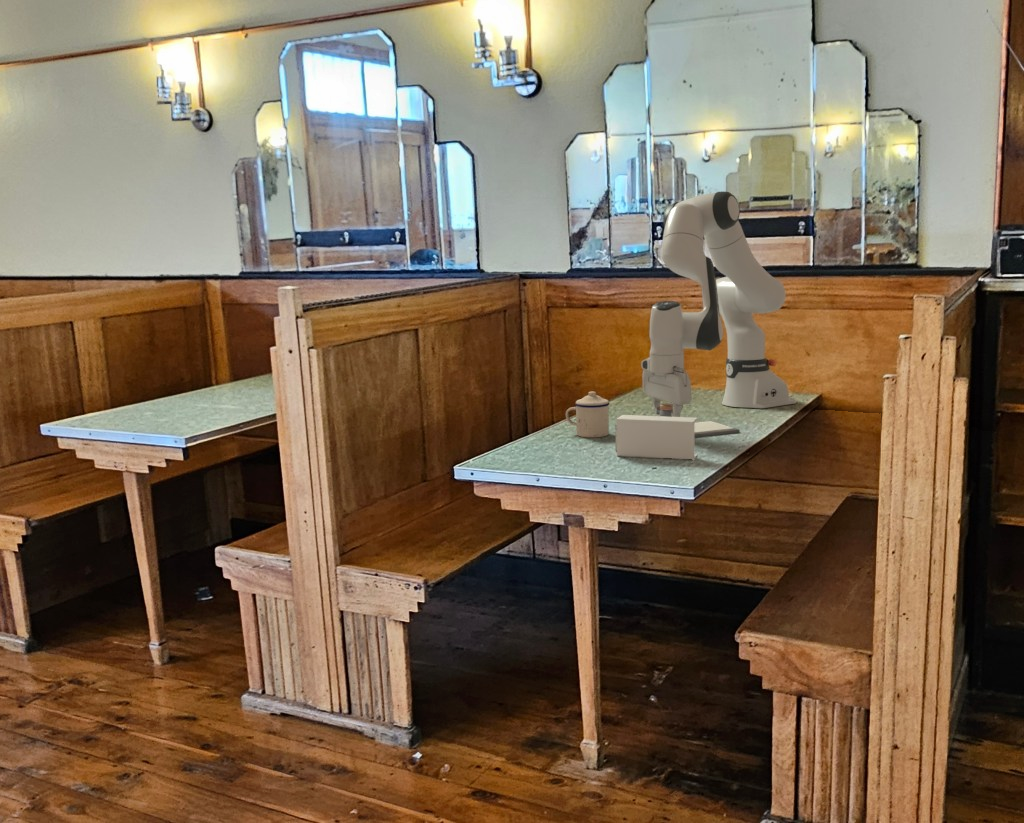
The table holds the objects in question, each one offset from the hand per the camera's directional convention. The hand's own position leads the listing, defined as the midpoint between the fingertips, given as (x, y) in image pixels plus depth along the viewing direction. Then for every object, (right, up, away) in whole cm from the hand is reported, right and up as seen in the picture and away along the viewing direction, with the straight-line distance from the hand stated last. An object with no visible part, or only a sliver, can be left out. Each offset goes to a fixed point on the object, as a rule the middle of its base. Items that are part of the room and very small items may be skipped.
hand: (666, 417), depth 275 cm
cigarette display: (-6, -10, -21) cm, 24 cm away
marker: (0, -4, +1) cm, 4 cm away
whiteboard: (+6, -4, +6) cm, 9 cm away
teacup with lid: (-20, -5, +7) cm, 22 cm away
